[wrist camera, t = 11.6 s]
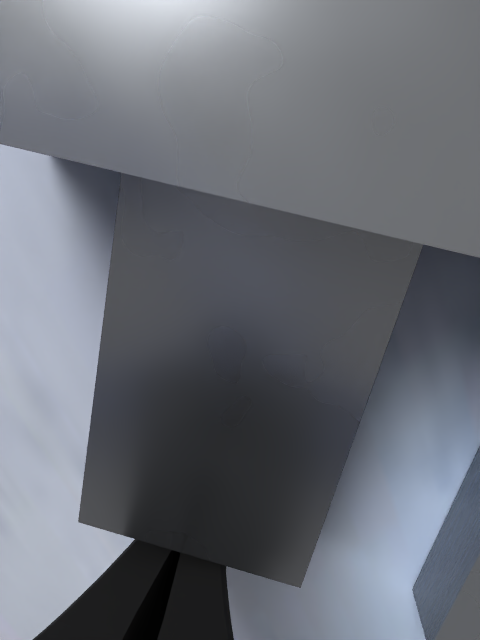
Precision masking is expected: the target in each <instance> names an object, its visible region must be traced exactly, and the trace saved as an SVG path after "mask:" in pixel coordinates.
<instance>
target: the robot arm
mask: <svg viewBox="0 0 480 640" xmlns="http://www.w3.org/2000/svg"><path fill="white" fill-rule="evenodd" d="M33 640H234V638H233V632H232V625H231V618H230V610H229V601H228V590H227V579H226V566H225V565H221V564H218V563H215V562H211V561H208V560H205V559H201V558H198V557H194V556H191V555H188V554H184V553H181V552H178V551H174V550H171V549H167V548H164V547H161V546H157V545H154V544H151V543H147V542H144V541H140V540H137V539H135V540H134V541H133V542H132V543H131V544H130V545H129V547H128V548H127V549H126V550H125V551H124V552H123V553H122V554H121V555H120V556H119V557H118V558H117V559H116V560H115V561H114V563H113V564H112V565H111V566H110V567H109V568H108V569H107V570H106V571H105V572H104V573H103V574H102V575H101V576H100V577H99V578H98V579H97V580H96V581H95V582H94V583H93V584H92V585H91V586H90V587H89V588H88V589H87V590H86V591H85V592H84V593H83V594H82V595H81V596H80V597H79V598H78V599H77V600H76V601H75V602H74V603H73V604H72V605H71V606H70V607H69V608H67V609H66V610H65V611H64V612H63V613H62V614H61V615H60V616H59V617H58V618H57V619H56V620H54V621H53V622H52V623H51V624H50V625H49V626H48V627H47V628H46V629H44V630H43V631H42V632H41V633H40V634H39V635H38V636H37V637H35V638H34V639H33Z"/></svg>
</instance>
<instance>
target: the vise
mask: <svg viewBox="0 0 480 640" xmlns="http://www.w3.org/2000/svg"><path fill="white" fill-rule="evenodd" d="M412 590H413V594H414V597H415V601H416V605H417V608H418V612H419V616H420V620H421V623H422V627H423V631H424V634H425V638H426V640H480V447H479V449H478V452H477V454H476V456H475V458H474V460H473V462H472V464H471V466H470V469H469V471H468V473H467V475H466V477H465V479H464V481H463V483H462V485H461V488H460V490H459V492H458V494H457V496H456V498H455V500H454V502H453V505H452V507H451V509H450V511H449V513H448V515H447V517H446V519H445V521H444V524H443V526H442V528H441V530H440V532H439V534H438V536H437V538H436V541H435V543H434V545H433V547H432V549H431V551H430V553H429V555H428V557H427V560H426V562H425V564H424V566H423V568H422V570H421V572H420V574H419V576H418V579H417V581H416V583H415V585H414V587H413V589H412Z"/></svg>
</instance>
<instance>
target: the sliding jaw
mask: <svg viewBox="0 0 480 640" xmlns="http://www.w3.org/2000/svg"><path fill="white" fill-rule="evenodd" d="M0 144H3V145H7V146H11V147H15V148H20V149H24V150H28V151H32V152H36V153H41V154H45V155H49V156H53V157H57V158H62V159H66V160H70V161H74V162H79V163H83V164H87V165H91V166H95V167H100V168H104V169H108V170H112V171H116V172H121V181H120V189H119V197H118V205H117V213H116V222H115V230H114V238H113V246H112V254H111V262H110V270H109V278H108V286H107V294H106V302H105V310H104V318H103V326H102V335H101V343H100V351H99V359H98V367H97V375H96V383H95V391H94V399H93V407H92V415H91V423H90V431H89V439H88V447H87V456H86V464H85V472H84V480H83V488H82V496H81V504H80V512H79V520H78V522H80V523H83V524H87V525H90V526H93V527H97V528H100V529H103V530H107V531H110V532H114V533H117V534H120V535H124V536H127V537H130V538H134V539H137V540H140V541H144V542H147V543H151V544H154V545H157V546H161V547H164V548H167V549H171V550H174V551H178V552H181V553H184V554H188V555H191V556H194V557H198V558H201V559H205V560H208V561H211V562H215V563H218V564H221V565H225V566H228V567H232V568H235V569H238V570H242V571H245V572H248V573H252V574H255V575H259V576H262V577H265V578H269V579H272V580H275V581H279V582H282V583H285V584H289V585H292V586H296V587H299V588H301V585H302V582H303V579H304V577H305V574H306V571H307V568H308V566H309V563H310V560H311V557H312V554H313V552H314V549H315V546H316V543H317V540H318V538H319V535H320V532H321V529H322V526H323V524H324V521H325V518H326V515H327V512H328V510H329V507H330V504H331V501H332V498H333V496H334V493H335V490H336V487H337V485H338V482H339V479H340V476H341V473H342V471H343V468H344V465H345V462H346V459H347V457H348V454H349V451H350V448H351V445H352V443H353V440H354V437H355V434H356V431H357V429H358V426H359V423H360V420H361V417H362V415H363V412H364V409H365V406H366V404H367V401H368V398H369V395H370V392H371V390H372V387H373V384H374V381H375V378H376V376H377V373H378V370H379V367H380V364H381V362H382V359H383V356H384V353H385V350H386V348H387V345H388V342H389V339H390V336H391V334H392V331H393V328H394V325H395V323H396V320H397V317H398V314H399V311H400V309H401V306H402V303H403V300H404V297H405V295H406V292H407V289H408V286H409V283H410V281H411V278H412V275H413V272H414V269H415V267H416V264H417V261H418V258H419V255H420V253H421V250H422V247H423V244H424V245H428V246H432V247H436V248H441V249H445V250H449V251H453V252H457V253H462V254H466V255H470V256H474V257H479V258H480V0H0Z"/></svg>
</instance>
